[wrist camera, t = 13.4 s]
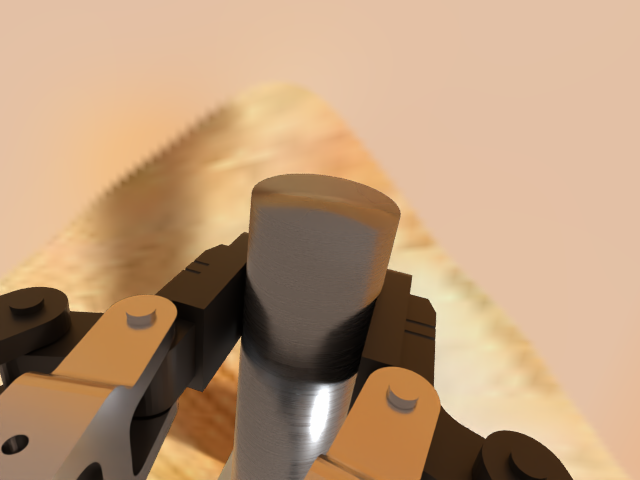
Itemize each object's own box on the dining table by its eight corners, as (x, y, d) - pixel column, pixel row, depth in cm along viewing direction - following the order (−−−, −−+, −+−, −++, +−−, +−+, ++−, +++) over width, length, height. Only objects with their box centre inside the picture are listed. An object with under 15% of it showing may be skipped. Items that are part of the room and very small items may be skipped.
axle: (317, 553, 17) (289, 650, 15) (246, 523, 18) (207, 610, 15) (408, 194, 10) (388, 250, 7) (284, 164, 11) (223, 206, 8)
